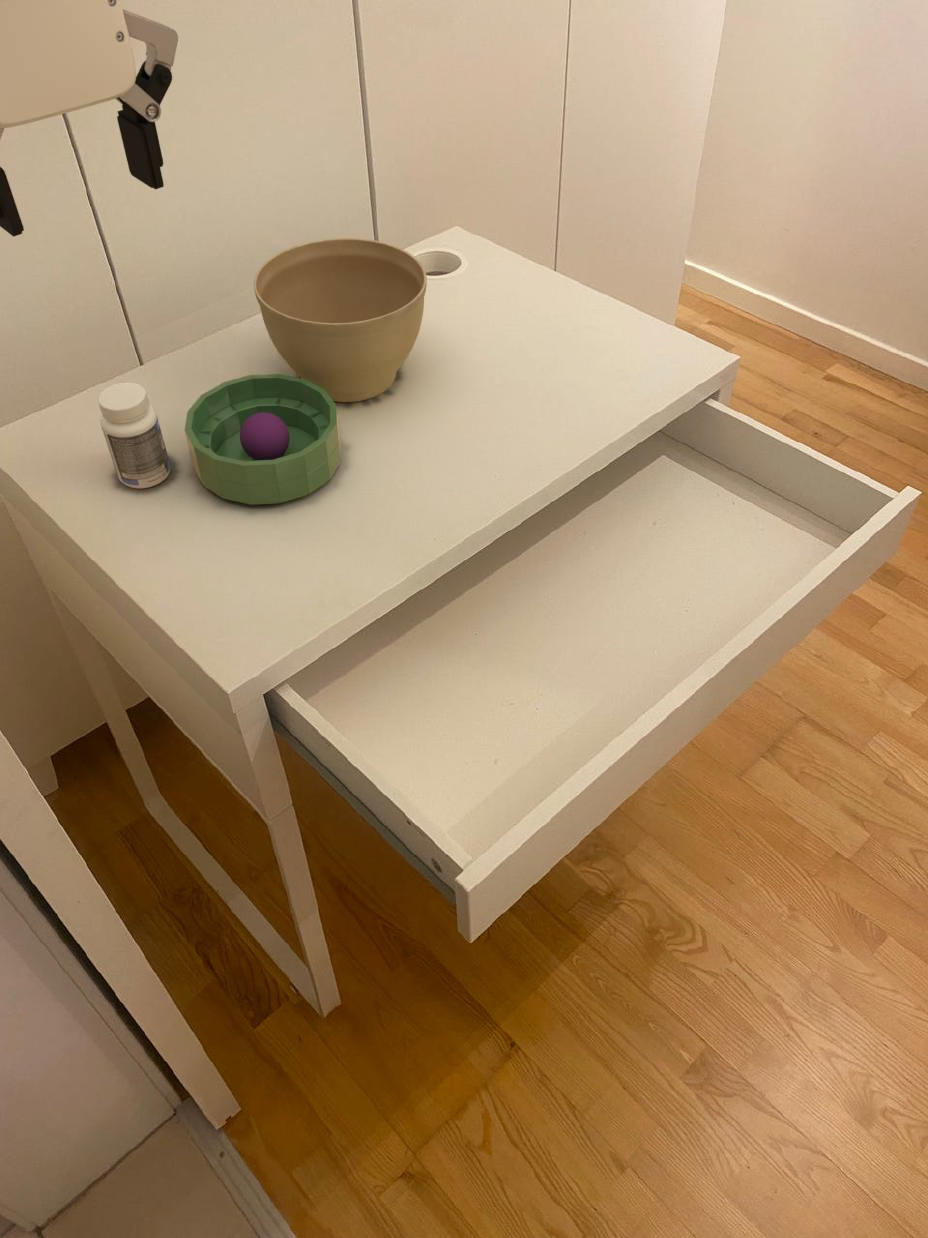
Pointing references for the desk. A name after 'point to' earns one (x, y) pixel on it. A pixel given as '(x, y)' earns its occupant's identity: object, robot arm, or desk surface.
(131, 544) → the desk surface
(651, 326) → the desk surface
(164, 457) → the pill bottle
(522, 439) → the desk surface
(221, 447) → the bowl
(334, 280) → the planter bowl
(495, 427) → the desk surface
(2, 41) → the robot arm
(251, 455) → the ball
